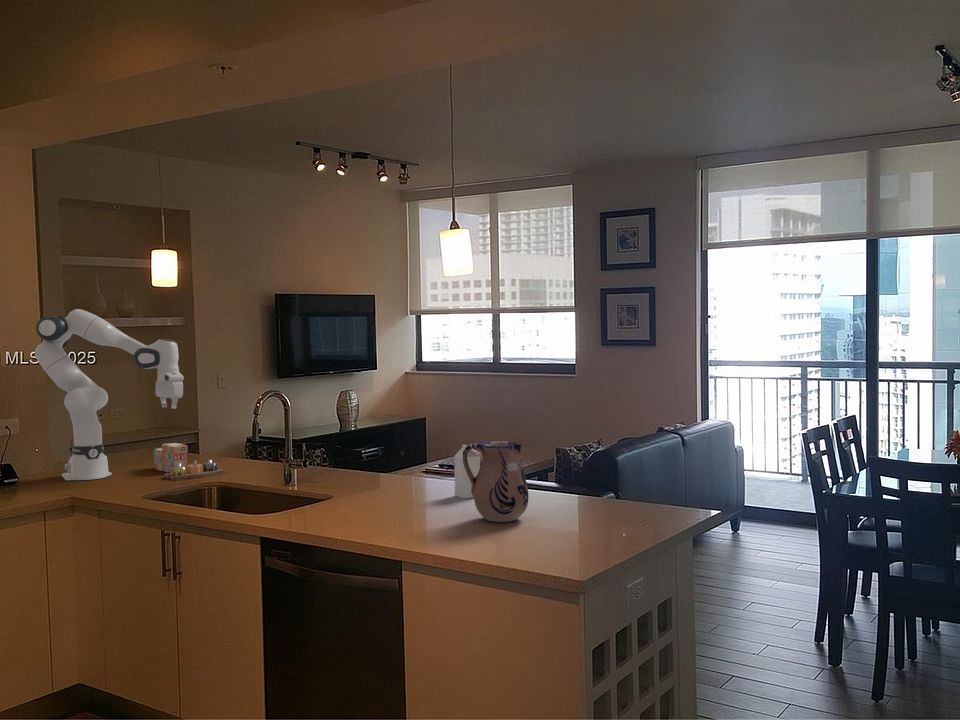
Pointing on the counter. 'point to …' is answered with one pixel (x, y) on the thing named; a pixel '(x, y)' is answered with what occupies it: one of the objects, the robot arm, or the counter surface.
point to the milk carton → (461, 475)
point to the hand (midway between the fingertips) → (169, 407)
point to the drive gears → (183, 469)
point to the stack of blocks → (170, 456)
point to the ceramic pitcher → (498, 481)
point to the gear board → (193, 474)
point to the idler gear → (194, 468)
